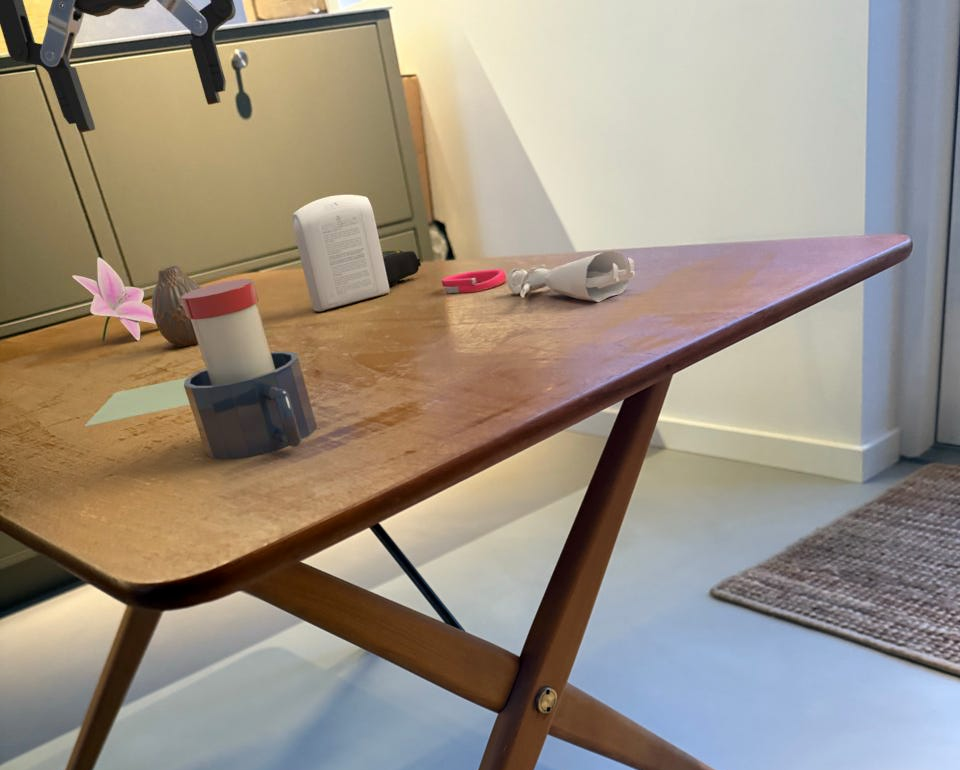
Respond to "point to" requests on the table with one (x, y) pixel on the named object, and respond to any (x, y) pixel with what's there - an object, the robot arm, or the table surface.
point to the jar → (229, 330)
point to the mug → (252, 410)
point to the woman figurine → (578, 277)
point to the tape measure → (400, 265)
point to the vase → (173, 306)
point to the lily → (116, 299)
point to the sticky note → (142, 401)
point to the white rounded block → (340, 251)
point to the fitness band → (473, 280)
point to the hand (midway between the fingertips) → (150, 117)
